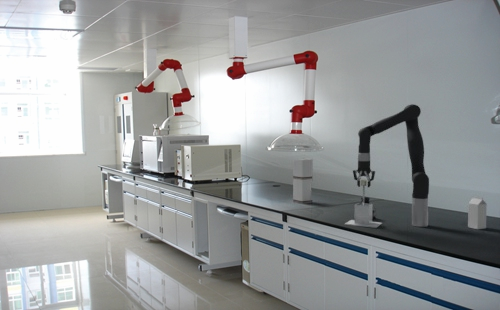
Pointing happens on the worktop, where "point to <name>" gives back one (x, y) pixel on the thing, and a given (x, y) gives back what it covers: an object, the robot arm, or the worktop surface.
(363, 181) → the plunger
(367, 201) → the scope
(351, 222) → the tray
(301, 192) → the grey banded column
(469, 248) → the worktop surface
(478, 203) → the milk carton
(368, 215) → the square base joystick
